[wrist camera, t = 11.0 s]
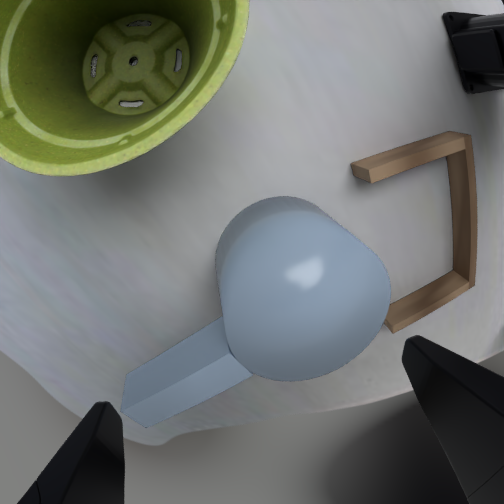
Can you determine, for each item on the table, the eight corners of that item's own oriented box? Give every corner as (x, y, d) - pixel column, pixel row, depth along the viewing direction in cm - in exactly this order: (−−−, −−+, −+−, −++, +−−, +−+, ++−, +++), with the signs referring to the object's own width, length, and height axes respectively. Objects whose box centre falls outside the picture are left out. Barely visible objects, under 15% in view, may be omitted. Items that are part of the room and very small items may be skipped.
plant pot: (219, 145, 16) (241, 170, 8) (56, 154, 15) (-37, 192, 7) (228, -11, 12) (257, -97, 5) (66, 5, 11) (-9, -50, 3)
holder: (449, 130, 18) (470, 134, 16) (459, 273, 23) (474, 285, 21) (350, 163, 18) (368, 169, 16) (379, 317, 23) (392, 333, 21)
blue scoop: (302, 169, 18) (353, 198, 12) (356, 268, 21) (406, 321, 15) (103, 311, 19) (78, 380, 13) (179, 378, 22) (180, 447, 17)
